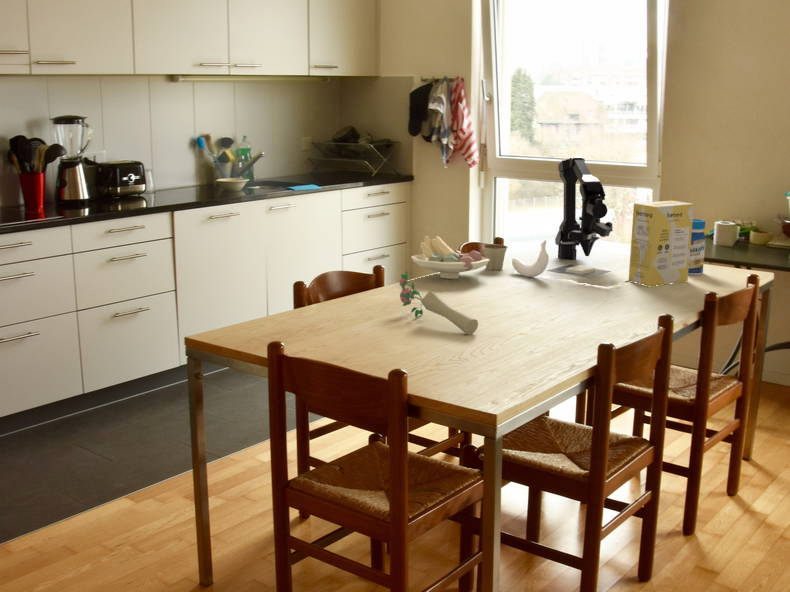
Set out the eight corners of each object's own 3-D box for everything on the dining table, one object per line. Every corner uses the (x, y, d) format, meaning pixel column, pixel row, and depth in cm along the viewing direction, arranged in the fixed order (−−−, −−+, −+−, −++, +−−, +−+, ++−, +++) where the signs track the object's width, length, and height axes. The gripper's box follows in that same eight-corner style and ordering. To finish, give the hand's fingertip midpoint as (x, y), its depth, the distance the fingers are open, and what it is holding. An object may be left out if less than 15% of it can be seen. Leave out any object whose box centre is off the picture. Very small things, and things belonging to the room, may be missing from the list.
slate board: (545, 272, 328) (546, 270, 328) (569, 266, 339) (569, 264, 339) (587, 280, 316) (587, 277, 316) (610, 273, 327) (611, 271, 327)
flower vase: (457, 360, 248) (382, 310, 272) (488, 341, 254) (412, 293, 277) (454, 327, 241) (378, 278, 265) (487, 308, 247) (409, 262, 271)
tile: (578, 268, 332) (565, 271, 326) (579, 265, 332) (565, 268, 326) (595, 271, 328) (581, 274, 321) (595, 267, 327) (582, 271, 321)
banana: (514, 271, 331) (516, 232, 327) (551, 280, 316) (553, 240, 312) (505, 272, 328) (506, 233, 324) (542, 281, 313) (543, 241, 310)
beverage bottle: (701, 271, 332) (706, 218, 327) (704, 276, 324) (709, 222, 319) (678, 270, 333) (682, 218, 329) (681, 275, 325) (685, 221, 321)
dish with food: (427, 267, 337) (427, 230, 334) (497, 273, 327) (498, 235, 323) (399, 281, 312) (399, 242, 309) (475, 289, 302) (476, 248, 298)
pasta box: (665, 276, 323) (671, 200, 317) (687, 281, 314) (694, 203, 308) (628, 281, 315) (633, 203, 308) (650, 287, 306) (656, 207, 299)
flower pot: (510, 268, 336) (511, 245, 334) (500, 272, 328) (500, 249, 326) (488, 265, 341) (489, 243, 339) (477, 269, 333) (478, 247, 331)
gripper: (595, 219, 313) (592, 262, 316) (621, 214, 326) (619, 255, 329) (568, 216, 320) (566, 258, 324) (595, 211, 333) (593, 251, 337)
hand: (587, 256), depth 328 cm, fingers closed
